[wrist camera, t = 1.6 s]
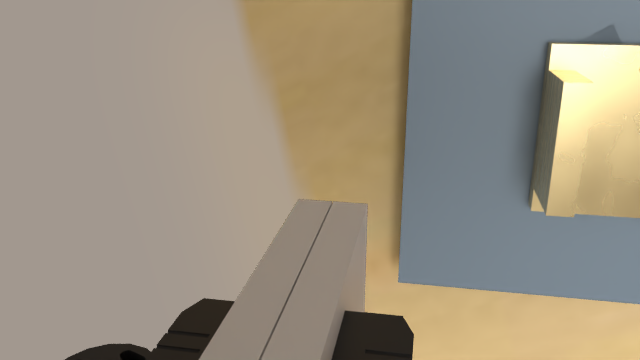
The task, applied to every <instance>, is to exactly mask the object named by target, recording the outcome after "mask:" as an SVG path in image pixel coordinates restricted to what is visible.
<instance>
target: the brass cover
mask: <svg viewBox="0 0 640 360" xmlns="http://www.w3.org/2000/svg"><path fill="white" fill-rule="evenodd" d="M528 205H529V207H530V210H531V211H539V212H545V214H546V216H560V217H574V215H575V214H584V215H599V216H614V217H629V218H640V44H636V43H586V42H548V50H547V58H546V66H545V74H544V82H543V90H542V98H541V106H540V114H539V122H538V130H537V138H536V146H535V155H534V163H533V171H532V179H531V187H530V195H529V203H528Z"/></svg>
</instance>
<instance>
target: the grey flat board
mask: <svg viewBox="0 0 640 360" xmlns="http://www.w3.org/2000/svg"><path fill="white" fill-rule="evenodd" d="M548 42H586V43H636V44H640V0H412V18H411V38H410V58H409V78H408V98H407V117H406V137H405V157H404V177H403V197H402V217H401V237H400V257H399V277H398V282H400V283H411V284H422V285H433V286H445V287H456V288H467V289H478V290H489V291H500V292H511V293H522V294H533V295H544V296H555V297H566V298H577V299H588V300H600V301H611V302H622V303H633V304H640V218H629V217H614V216H599V215H584V214H575V215H574V217H560V216H546V214H545V212H539V211H531V210H530V207H529V205H528V203H529V195H530V187H531V179H532V171H533V163H534V155H535V146H536V138H537V130H538V122H539V114H540V106H541V98H542V90H543V82H544V74H545V66H546V58H547V50H548Z"/></svg>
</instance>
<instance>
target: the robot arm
mask: <svg viewBox="0 0 640 360" xmlns="http://www.w3.org/2000/svg"><path fill="white" fill-rule="evenodd" d="M367 210H368V204H363V203H348V202H333V204H332V201H319V200H304V199H298V201H297V203H296V204H295V206H294V207H293V209H292V211H291V212H290V214H289V215H288V217H287V219H286V220H285V222H284V223H283V225H282V227H281V228H280V230H279V231H278V233H277V235H276V236H275V238H274V240H273V241H272V243H271V244H270V246H269V248H268V249H267V251H266V252H265V254H264V256H263V257H262V259H261V260H260V262H259V264H258V265H257V267H256V268H255V270H254V272H253V273H252V275H251V276H250V278H249V280H248V281H247V283H246V285H245V286H244V288H243V289H242V291H241V293H240V294H239V296H238V297H237V299H236V301H225V300H215V299H205V298H204V299H202V300H200V301H199V302H197V303H196V304H194V305H192V306H191V307H189V308H188V309H186V310H184V311H183V312H181V314H180V315H179V316H178V318H177V319H176V320H175V322H174V323H173V324H172V325H171V327H170V328H169V330H168V333H166V334H165V335H164V336H163V337H162V339H161V340H160V341H159V343H158V344H157V348H156V349H155V348H154V349H153V351H152V352H150V351H149V350H148V349H146V348H143V347H140V346H136V345H132V344H107V345H102V346H98V347H94V348H89V349H86V350H84V351H82V352H79V353H77V354H75V355H72V356H70V357H68V358H67V359H65V360H412V354H413V338H414V334H413V332H412V331H411V329H410V328H409V326H408V324H407V323H406V321H405V319H404V318H403V316H396V315H386V314H376V313H366V312H364V309H365V276H366V243H367Z"/></svg>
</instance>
